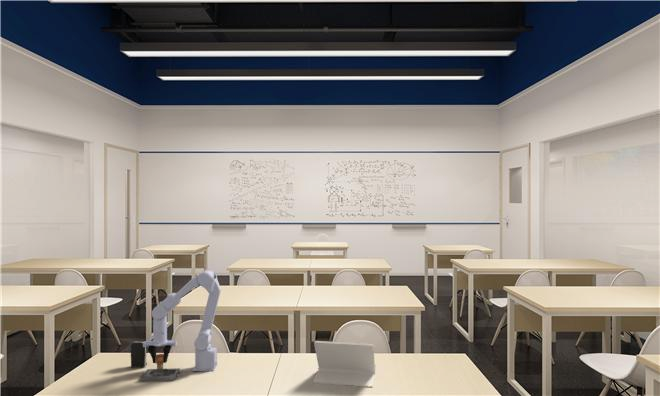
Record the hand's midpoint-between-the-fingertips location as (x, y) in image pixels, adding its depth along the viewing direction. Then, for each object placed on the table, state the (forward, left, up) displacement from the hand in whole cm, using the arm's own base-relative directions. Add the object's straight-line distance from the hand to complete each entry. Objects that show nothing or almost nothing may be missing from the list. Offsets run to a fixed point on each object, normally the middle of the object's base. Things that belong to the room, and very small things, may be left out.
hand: (160, 362), depth 187 cm
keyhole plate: (-3, +8, -3) cm, 9 cm away
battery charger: (+11, -5, -4) cm, 13 cm away
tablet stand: (-83, +12, -4) cm, 84 cm away
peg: (0, 0, -3) cm, 3 cm away
